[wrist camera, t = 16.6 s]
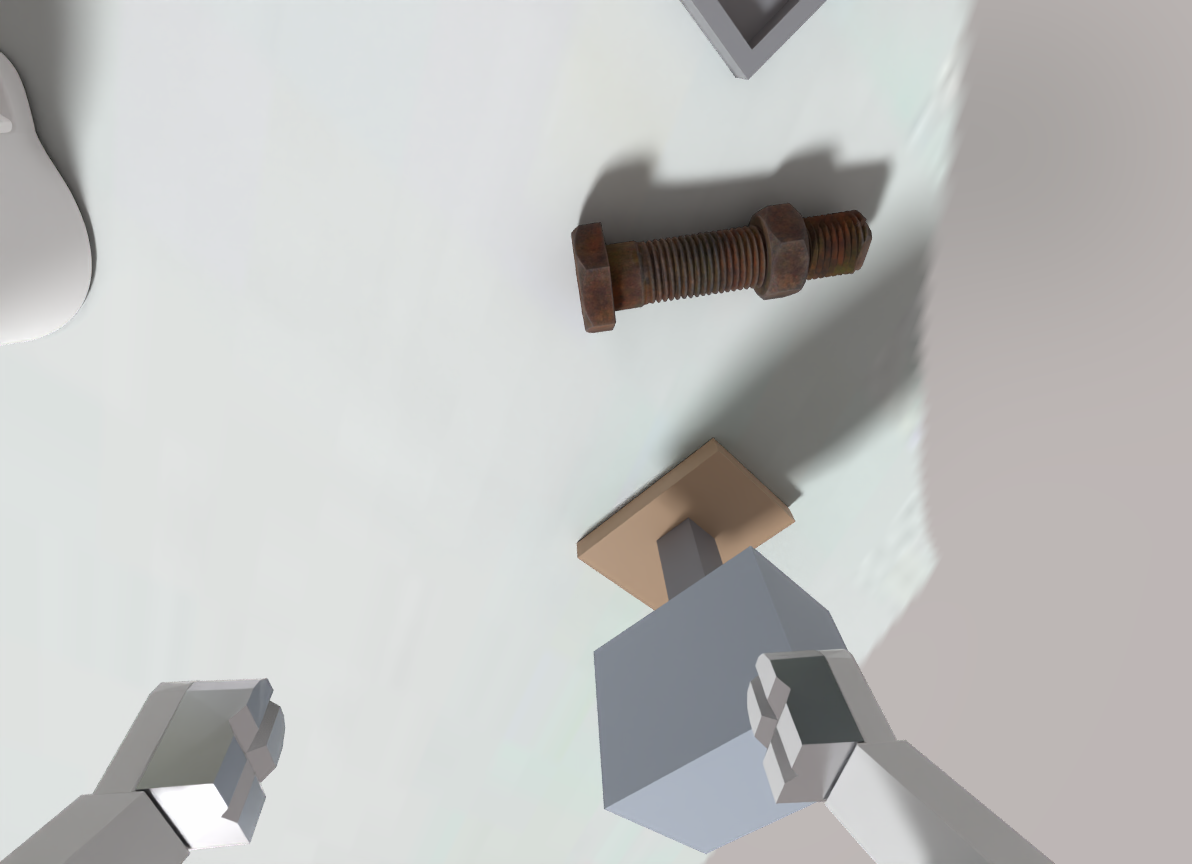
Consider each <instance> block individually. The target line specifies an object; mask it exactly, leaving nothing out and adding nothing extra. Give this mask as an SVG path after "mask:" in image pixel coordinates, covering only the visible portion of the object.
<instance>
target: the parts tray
mask: <svg viewBox="0 0 1192 864" xmlns="http://www.w3.org/2000/svg"><path fill="white" fill-rule="evenodd" d="M680 1H681V2H682V4H683V5H684V7H685V8H686V9H687V11H688V12H689V13H690V15H691V16H692V18H693V19H694V20H695V22H696V23H697V25H698V26H699V27H700V29H701V30H702V31H703V33H704V34H705V36H706V37H707V38H708V40H709V41H710V43H711V44H712V45H713V47H714V48H715V49H716V51H717V52H718V54H719V55H720V56H721V58H722V59H723V61H724V62H725V63H726V65H727V66H728V67H729V69H730V70H731V72H732V73H733V74H734V76H735V77H737V78H742V79H746V80H748V79H749V78H750V77H751V76H752V75H753V74H754V73H755V72H756V71H757V70H758V69H759V68H760V67H761V66H762V65H763V64H764V63H765V62H766V61H767V60H768V59H769V58H770V57H771V56H772V55H773V54H774V53H775V52H776V51H777V50H778V49H779V48H780V47H781V46H782V45H783V44H784V43H785V42H786V41H787V40H788V39H789V38H790V37H791V36H792V35H793V34H794V33H795V32H796V31H797V30H798V29H799V28H800V27H801V26H802V25H803V24H804V23H805V22H806V21H807V20H808V19H809V18H810V17H811V16H812V15H813V14H814V13H815V12H816V11H817V10H818V9H819V8H820V7H821V6H822V4H823V3H824V2H825V1H826V0H680Z"/></svg>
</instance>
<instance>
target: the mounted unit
mask: <svg viewBox="0 0 1192 864" xmlns="http://www.w3.org/2000/svg"><path fill="white" fill-rule="evenodd" d="M794 522H795V520H794V518H793V516H792V514H791V512H790V510H789V508H788V507H787V506H786V505H785V504H784V503H783V502H782V501H781V500H780V499H779V498H778V497H776V496H775V495H774V494H773V493H772V492H771V491H770V490H769V489H768V488H767V487H766V486H765V485H764V484H762V483H761V482H760V481H759V480H758V479H757V478H756V477H755V476H754V475H753V474H752V473H751V472H750V471H748V470H747V469H746V468H745V467H744V466H743V465H742V464H741V463H740V462H739V461H738V460H737V459H736V458H734V457H733V456H732V455H731V454H730V453H729V452H728V451H727V450H726V449H725V448H724V447H723V446H722V445H720V444H719V443H718V442H717V441H716V440H715V439H714V438H712V439H711V440H710V441H708V442H707V443H706V444H705V445H703V446H702V447H701V448H699V449H698V450H697V451H695V452H694V453H693V454H692V455H690V456H689V457H688V458H686V459H685V460H684V461H683V462H681V463H680V464H679V465H677V466H676V467H675V468H674V469H672V470H671V471H670V472H668V473H667V474H666V475H664V476H663V477H662V478H661V479H659V480H658V481H657V482H655V483H654V484H653V485H652V486H650V487H649V488H648V489H646V490H645V491H644V492H642V493H641V494H640V495H639V496H637V497H636V498H635V499H633V500H632V501H631V502H630V503H628V504H627V505H626V506H624V507H623V508H622V509H621V510H619V511H618V512H617V513H615V514H614V515H613V516H611V517H610V518H609V519H608V520H606V521H605V522H604V523H602V524H601V525H600V526H599V527H597V528H596V529H595V530H593V531H592V532H591V533H589V534H588V535H587V536H586V537H584V538H583V539H582V540H580V541H579V542H578V543H577V557H578V558H579V559H580V560H581V561H583V562H584V563H586V564H587V565H589V566H590V567H592V568H593V569H595V570H596V571H598V572H599V573H601V574H602V575H603V576H605V577H606V578H608V579H609V580H611V581H612V582H614V583H615V584H617V585H618V586H620V587H621V588H623V589H624V590H625V591H627V592H628V593H630V594H631V595H633V596H634V597H636V598H637V599H639V600H640V601H642V602H643V603H645V604H646V605H647V606H649V607H650V608H652V609H653V610H655V611H653V612H652V613H650V614H649V615H647V616H646V617H644V618H643V619H641V620H640V621H638V622H637V623H635V624H634V625H632V626H631V627H629V628H628V629H626V630H625V631H623V632H622V633H621V634H619V635H618V636H616V637H615V638H613V639H612V640H610V641H609V642H607V643H606V644H604V645H603V646H601V647H600V648H598V649H597V650H595V651H594V665H595V680H596V695H597V710H598V725H599V740H600V754H601V769H602V784H603V799H604V809H605V810H607V811H610V812H612V813H614V814H617V815H619V816H621V817H623V818H626V819H628V820H630V821H632V822H635V823H637V824H639V825H641V826H644V827H646V828H648V829H650V830H653V831H655V832H657V833H660V834H662V835H664V836H666V837H669V838H671V839H673V840H675V841H678V842H680V843H682V844H684V845H687V846H689V847H691V848H693V849H696V850H698V851H700V852H703V853H705V854H707V853H709V852H711V851H713V850H715V849H717V848H719V847H721V846H724V845H726V844H728V843H730V842H732V841H734V840H736V839H738V838H741V837H743V836H745V835H747V834H749V833H751V832H753V831H756V830H758V829H760V828H762V827H764V826H766V825H768V824H770V823H773V822H775V821H777V820H779V819H781V818H783V817H785V816H788V815H790V814H792V813H794V812H796V811H798V810H800V809H803V808H805V807H807V806H809V805H811V804H813V803H815V802H800V803H779V804H776V802H775V799H774V796H773V793H772V790H771V787H770V784H769V781H768V778H767V775H766V772H765V769H764V765H763V760H764V757H765V754H766V751H767V748H766V747H765V746H764V745H763V744H762V743H761V742H759V741H758V740H757V739H756V738H755V737H754V734H753V730H752V727H751V724H750V720H749V714H748V709H747V692H748V688H749V684H750V681H751V680H753V679H754V678H755V677H757V676H758V672H757V669H756V666H755V665H756V662H757V660H758V657H759V656H760V655H761V654H763V653H774V652H789V651H804V650H816V651H817V650H832V649H845V650H847V648H846V646H845V644H844V641H843V639H842V637H841V635H840V633H839V631H838V629H837V627H836V625H835V623H834V621H833V619H832V617H831V615H830V612H829V611H828V610H827V609H826V608H824V607H823V606H822V605H821V604H820V603H818V602H817V601H816V600H815V599H814V598H813V597H811V596H810V595H809V594H808V593H807V592H805V591H804V590H803V589H802V588H801V587H799V586H798V585H797V584H796V583H795V582H794V581H792V580H791V579H790V578H789V577H788V576H786V575H785V574H784V573H783V572H782V571H780V570H779V569H778V568H777V567H776V566H774V565H773V564H772V563H771V562H770V561H769V560H767V559H766V558H765V557H764V556H763V555H761V554H760V553H759V552H758V551H757V550H755V548H757V547H758V546H760V545H761V544H763V543H764V542H766V541H767V540H769V539H770V538H772V537H773V536H774V535H776V534H777V533H779V532H780V531H782V530H783V529H785V528H786V527H788V526H789V525H791V524H792V523H794Z"/></svg>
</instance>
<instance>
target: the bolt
mask: <svg viewBox="0 0 1192 864" xmlns="http://www.w3.org/2000/svg"><path fill="white" fill-rule="evenodd" d="M571 237H572V245H573V252H574V259H575V266H576V275H577V282H578V288H579V295H580V301H581V308H582V315H583V319H584V325H585V330H586V332H589V333H596V332H603V331H610V330H613V328H614V326H615V323H616V319H615V311H619V310H625V309H631V308H638V307H642V306H643V305H645V304H648V303H652V304H653V303H654V302H655V300H657V302H658V303H659V302H660V301H661V300H662V299H663V301H664V302H666V301H667V299H668V298H669V299H670V301H672V300H673V299H674V297H675V298H676V299H677V300H679V299H680V297H681V296H682V298H683V299H685V298H686V297H687V295H688V296H689V297H690V298H692V297H693V295H695V296H696V297H698V296H699V295H700V294H701V295H702V296H704V295H705V294H708V295H710V294H711V293H712V292H713V293H714V294H717V293H718V291H719V292H720V293H723V292H724V290H725V291H726V292H729V291H730V290H732V291H735V290H736V289H739V290H742V289H743V287H744V288H745V289H748V288H749V287H751V288H754V290H755V292H756V293H757V295H759V296H760V297H761V298H762V299H763V300H768V299H775V298H782V297H786V296H789V295H792V294H795V293H797V292H799V291H800V290H801V289H802V288H803V286H804V284H805V282H806V279H807V280H811V279H812V278H813V279H817V278H818V277H819V278H823V277H824V276H825V277H829V276H836V275H842V274H853V273H854V271H855V270H859V269H860V268H861V267H862V265H863V262H864V260H865V257H866V255H867V252H868V249H869V246H870V243H871V240H872V233H871V230H870V228H869V226H868V225H867V223H866V218H864V217H863V215H862V214H861V213H860V212H858V211H857V210H852V211H845V212H840V213H832V214H827V215H820V216H813V217H807V218H802V216H801V214H800V213H799V212H798V211H797V210H796V209H795V208H794V207H793V206H792V205H790V204H789V203H786V204H779V205H773V206H767V207H765V208H763V209H761V210H760V211H758V212H757V213H756V214H754V215H753V217H752V218H751V220H750V223H749V227H747V226H744V227H742V228H741V227H737V228H736V229H734V228H731V229H730V230H728V229H724V230H723V231H722V230H718V231H717V232H715V231H712V232H711V233H708V232H705V233H704V234H702V233H698V235H696V234H692V235H691V236H690V235H685V237H683V236H682V235H681V236H679V237H678V238H677V237H672V240H671V238H669V237H668V238H666V240H664V239H663V238H662V239H660V240H659V241H658V240H656V239H654V240H653V242H651V241H650V240H649V241H647V242H646V243H645V242H644V241H642V242H635V241H630V242H623V243H616V244H609V245H605V240H604V235H603V230H602V225H601V222H599V223H592V224H586V225H579V226H578V227H576V228H575V229H574V230H573V232H572V233H571Z"/></svg>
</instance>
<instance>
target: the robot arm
mask: <svg viewBox="0 0 1192 864" xmlns="http://www.w3.org/2000/svg"><path fill="white" fill-rule="evenodd" d="M91 272H92V257H91V248H90V243H89V238H88V234H87V230H86V227H85V224H84V221H83V218H82V216H81V213H80V211H79V208H78V206H77V204H76V202H75V200H74V198H73V196H72V194H71V192H70V190H69V188H68V187H67V185H66V183H65V181H64V180H63V178H62V177H61V175H60V174H59V172H58V170H57V169H56V167H55V166H54V164H53V163H52V161H51V159H50V158H49V156H48V155H47V153H46V151H45V150H44V148H43V146H42V144H41V143H40V140H39V138H38V136H37V134H36V132H35V127H34V123H33V119H32V115H31V111H30V107H29V103H28V99H27V96H26V93H25V89H24V87H23V84H22V82H21V79H20V77H19V75H18V73H17V71H16V69H15V68H14V66H13V65H12V63H11V62H10V61H9V60H8V59H7V58H6V57H5V55H3V54H2V53H1V52H0V346H2V345H7V344H14V343H21V342H27V341H31V340H35V339H39V338H42V337H44V336H47V335H49V334H51V333H53V332H55V331H57V330H58V329H60V328H61V327H63V326H64V325H65V324H67V323H68V322H69V321H70V320H71V319H72V318H73V317H74V316H75V315H76V313H77V312H78V311H79V309H80V308H81V306H82V304H83V302H84V300H85V298H86V295H87V293H88V289H89V286H90V280H91ZM755 666H756V669H757V672H758V676H757V677H755V678H754V679H753V680H751V681H750V684H749V688H748V692H747V709H748V714H749V720H750V724H751V727H752V730H753V734H754V737H755V738H756V739H757V740H758V741H759V742H761V743H762V744H763V745H764V746H765V747H766V748H767V751H766V754H765V757H764V760H763V765H764V769H765V772H766V775H767V778H768V781H769V784H770V787H771V790H772V793H773V796H774V799H775V802H776V804H779V803H800V802H821V801H826V802H825V805H826V806H827V808H828V809H829V810H830V811H831V812H832V813H833V814H834V816H835V817H836V818H837V819H838V820H839V821H840V823H841V824H842V825H843V826H844V827H845V828H846V829H847V830H848V832H849V833H850V834H851V835H852V836H853V837H854V838H855V840H856V841H857V842H858V843H859V844H860V845H861V847H862V848H863V849H864V850H865V851H866V852H867V853H868V855H869V856H870V857H871V858H872V859H873V860H874V861H875V862H876V864H1054V862H1052V861H1051V860H1050V859H1049V858H1048V857H1046V856H1045V855H1044V854H1043V853H1042V852H1040V851H1039V850H1038V849H1037V848H1036V847H1034V846H1033V845H1032V844H1031V843H1030V842H1028V841H1027V840H1026V839H1024V838H1023V837H1022V836H1021V835H1020V834H1018V833H1017V832H1016V831H1015V830H1014V829H1013V828H1011V827H1010V826H1009V825H1008V824H1006V823H1005V822H1004V821H1003V820H1002V819H1000V818H999V817H998V816H997V815H996V814H994V813H993V812H992V811H991V810H989V809H988V808H987V807H986V806H985V805H984V804H982V803H981V802H980V801H979V800H978V799H976V798H975V797H974V796H973V795H971V794H970V793H969V792H968V791H967V790H965V789H964V788H963V787H962V786H960V785H959V784H958V783H957V782H956V781H954V780H953V779H952V778H951V777H949V776H948V775H947V774H946V773H945V772H944V771H942V770H941V769H940V768H939V767H938V766H936V765H935V764H934V763H933V762H931V761H930V760H929V759H928V758H927V757H925V756H924V755H923V754H922V753H920V752H919V751H918V750H917V749H916V748H915V747H913V746H912V745H911V744H910V743H908V742H907V741H906V740H897V739H896V737H895V735H894V733H893V731H892V729H891V728H890V725H889V724H888V722H887V720H886V718H885V716H884V714H883V712H882V710H881V708H880V706H879V704H878V703H877V701H876V699H875V697H874V695H873V693H872V691H871V689H870V687H869V685H868V684H867V682H866V680H865V678H864V676H863V674H862V672H861V670H860V668H859V666H858V664H857V662H856V661H855V659H854V657H853V655H852V654H851V653H850V652H849V651H848V650H845V649H832V650H817V651H816V650H804V651H789V652H774V653H763V654H761V655H760V656H759V657H758V660H757V662H756V665H755ZM272 693H273V689H272V687H271V685H270V683H269V681H268V679H267V678H263V679H239V680H214V681H182V682H163V683H160V684H159V685H158V686H157V687H156V688H155V689H154V690H153V691H152V692H151V693H150V694H149V696H148V698H147V700H146V701H145V703H144V705H143V707H142V708H141V710H140V712H139V713H138V715H137V717H136V719H135V720H134V722H133V724H132V726H131V727H130V729H129V731H128V733H127V734H126V736H125V738H124V740H123V741H122V743H121V745H120V747H119V748H118V750H117V752H116V754H115V755H114V757H113V759H112V761H111V762H110V764H109V766H108V768H107V769H106V771H105V773H104V775H103V776H102V778H101V780H100V782H99V783H98V785H97V787H96V788H95V790H94V792H93V794H86V795H81V796H79V797H78V798H77V799H76V800H75V801H73V802H72V803H71V804H70V805H69V806H67V807H66V808H65V809H64V810H62V811H61V812H60V813H59V814H58V815H56V816H55V817H54V818H53V819H52V820H50V821H49V822H48V823H47V824H45V825H44V826H43V827H42V828H41V829H39V830H38V831H37V832H36V833H35V834H33V835H32V836H31V837H30V838H29V839H27V840H26V841H25V842H24V843H22V844H21V845H20V846H19V847H18V848H16V849H15V850H14V851H13V852H12V853H10V854H9V855H8V856H7V857H5V858H4V859H3V860H2V861H1V862H0V864H182V863H183V861H184V860H185V859H186V858H187V857H188V856H189V854H190V852H189V850H195V849H204V848H214V847H224V846H233V845H243V844H250V842H251V839H252V836H253V833H254V830H255V827H256V824H257V821H258V819H259V816H260V813H261V810H262V807H263V804H264V801H265V798H266V796H265V793H264V790H263V788H262V785H261V782H262V781H263V780H264V779H265V778H266V777H267V776H268V775H269V774H270V773H271V772H272V771H273V770H274V769H275V768H276V766H277V763H278V760H279V757H280V754H281V751H282V747H283V740H284V733H285V723H284V715H283V712H282V710H281V707H280V706H278V705H277V704H275V703H273V702H271V701H270V698H271V695H272Z"/></svg>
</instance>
